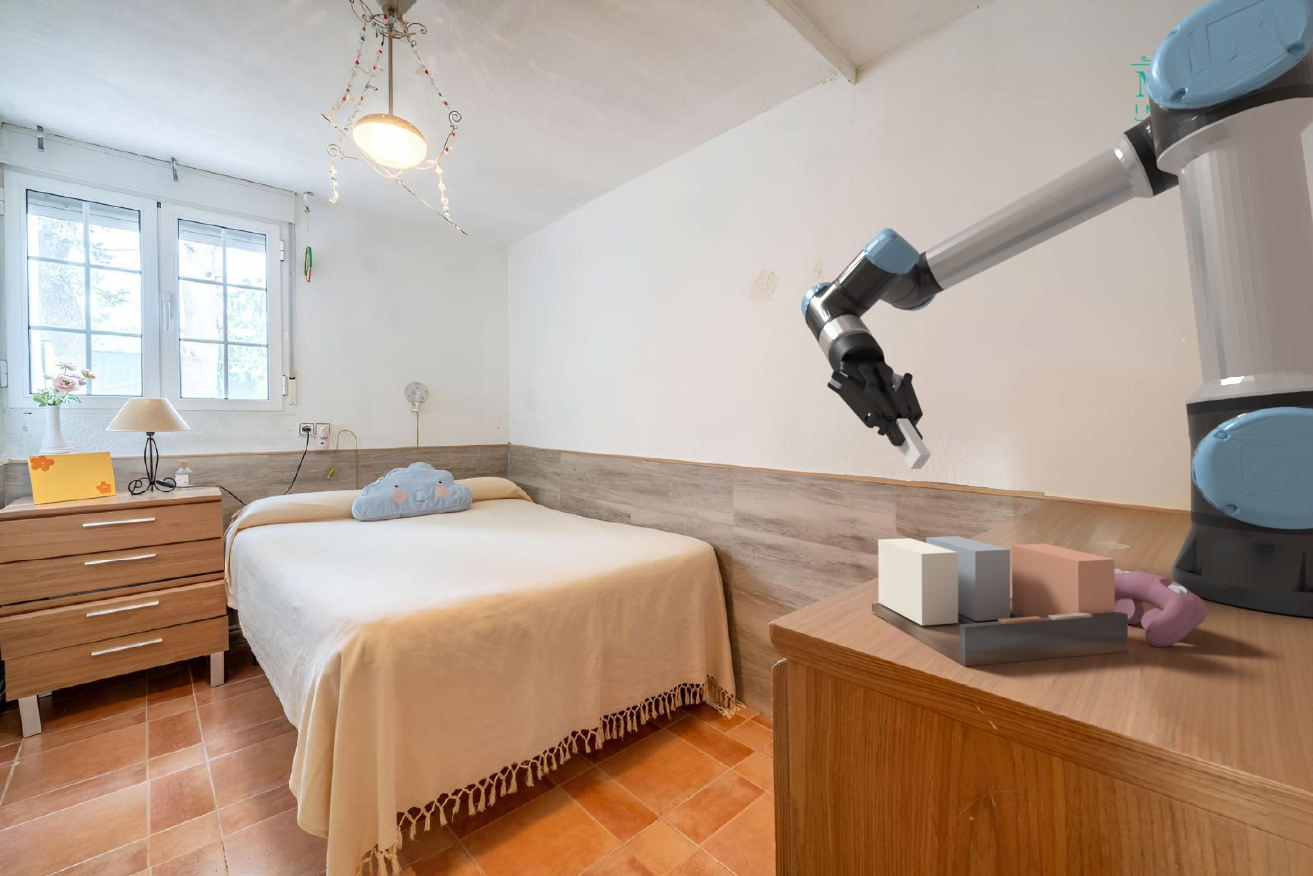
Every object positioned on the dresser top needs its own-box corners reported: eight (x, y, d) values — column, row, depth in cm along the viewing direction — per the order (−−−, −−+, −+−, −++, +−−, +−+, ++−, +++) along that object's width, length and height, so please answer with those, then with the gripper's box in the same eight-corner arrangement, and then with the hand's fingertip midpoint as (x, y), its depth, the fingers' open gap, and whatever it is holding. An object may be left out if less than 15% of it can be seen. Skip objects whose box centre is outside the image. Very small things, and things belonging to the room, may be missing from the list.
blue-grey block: (926, 599, 57) (926, 537, 57) (957, 597, 58) (957, 536, 58) (975, 621, 50) (975, 551, 50) (1010, 618, 51) (1009, 549, 51)
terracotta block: (1012, 611, 53) (1012, 545, 53) (1044, 609, 54) (1044, 543, 54) (1078, 637, 46) (1078, 561, 46) (1114, 634, 47) (1114, 559, 47)
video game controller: (1194, 666, 47) (1228, 598, 47) (1150, 644, 47) (1184, 576, 47) (1100, 626, 57) (1128, 570, 57) (1064, 608, 57) (1092, 552, 57)
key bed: (871, 612, 57) (871, 580, 57) (1002, 603, 60) (1002, 573, 60) (965, 666, 43) (964, 624, 43) (1127, 651, 46) (1127, 612, 46)
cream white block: (878, 602, 56) (878, 539, 56) (910, 600, 57) (910, 538, 57) (921, 625, 49) (921, 554, 49) (957, 622, 50) (957, 552, 50)
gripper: (878, 370, 84) (951, 480, 67) (804, 368, 82) (861, 481, 65) (899, 331, 78) (983, 441, 62) (820, 328, 76) (886, 441, 60)
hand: (920, 461), depth 64 cm, fingers closed
